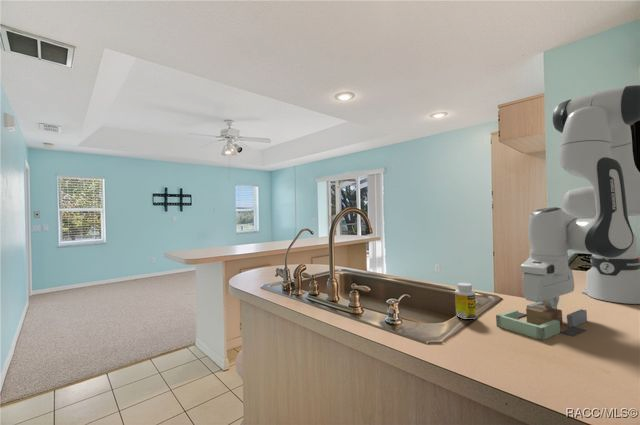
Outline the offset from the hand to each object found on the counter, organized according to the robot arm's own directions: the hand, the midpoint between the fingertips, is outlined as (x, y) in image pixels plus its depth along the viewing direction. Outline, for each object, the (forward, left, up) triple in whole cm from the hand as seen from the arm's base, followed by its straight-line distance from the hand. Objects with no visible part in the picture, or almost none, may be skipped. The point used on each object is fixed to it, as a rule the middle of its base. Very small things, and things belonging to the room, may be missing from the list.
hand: (551, 312), depth 86 cm
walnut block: (+4, 0, -2) cm, 5 cm away
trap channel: (+5, 0, -2) cm, 6 cm away
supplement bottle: (+18, -15, -2) cm, 23 cm away
